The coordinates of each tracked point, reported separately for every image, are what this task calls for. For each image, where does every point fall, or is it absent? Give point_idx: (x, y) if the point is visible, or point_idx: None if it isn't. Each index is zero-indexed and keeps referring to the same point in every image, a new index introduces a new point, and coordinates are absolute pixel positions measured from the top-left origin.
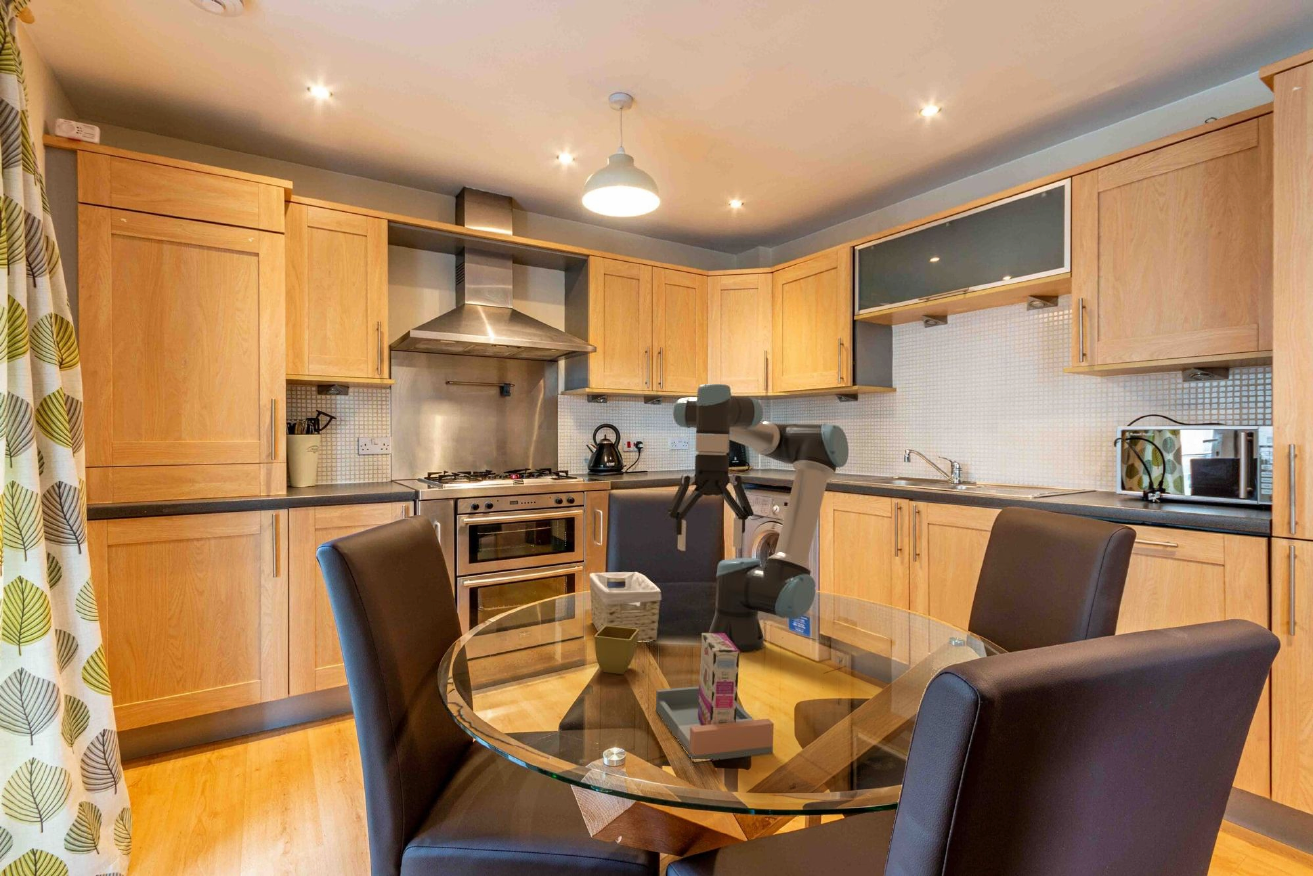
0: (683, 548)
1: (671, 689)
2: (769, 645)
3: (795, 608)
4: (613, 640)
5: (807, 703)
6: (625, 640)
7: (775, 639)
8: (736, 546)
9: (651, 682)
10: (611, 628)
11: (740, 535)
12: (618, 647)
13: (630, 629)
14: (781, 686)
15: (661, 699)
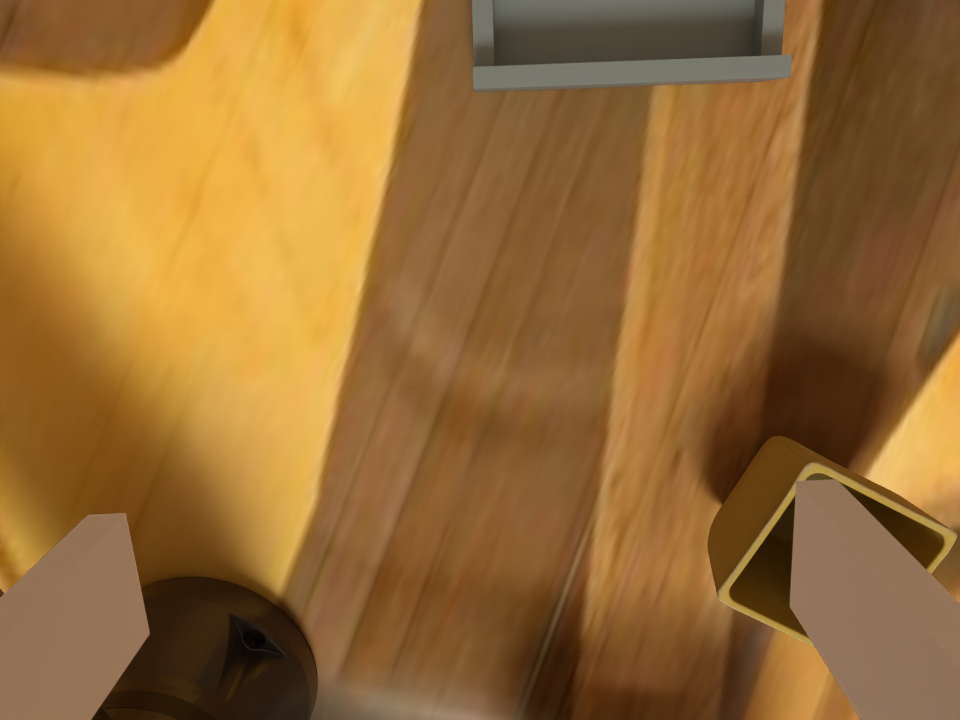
0: (829, 492)
1: (725, 70)
2: None
3: None
4: (876, 490)
5: (139, 40)
6: (831, 467)
7: None
8: (128, 563)
9: (681, 351)
10: None
11: (15, 601)
12: (841, 469)
13: (751, 608)
14: (180, 223)
15: (766, 52)
